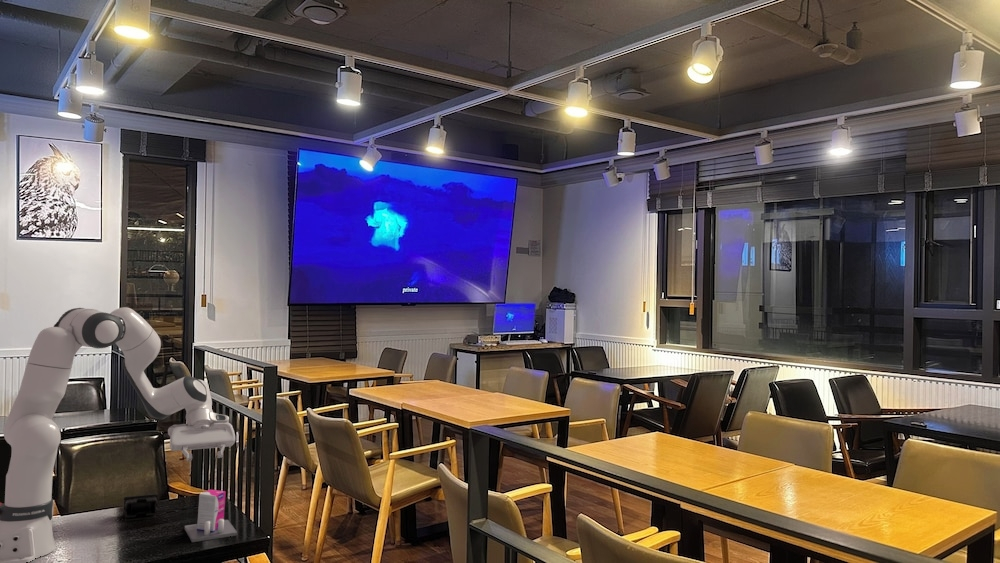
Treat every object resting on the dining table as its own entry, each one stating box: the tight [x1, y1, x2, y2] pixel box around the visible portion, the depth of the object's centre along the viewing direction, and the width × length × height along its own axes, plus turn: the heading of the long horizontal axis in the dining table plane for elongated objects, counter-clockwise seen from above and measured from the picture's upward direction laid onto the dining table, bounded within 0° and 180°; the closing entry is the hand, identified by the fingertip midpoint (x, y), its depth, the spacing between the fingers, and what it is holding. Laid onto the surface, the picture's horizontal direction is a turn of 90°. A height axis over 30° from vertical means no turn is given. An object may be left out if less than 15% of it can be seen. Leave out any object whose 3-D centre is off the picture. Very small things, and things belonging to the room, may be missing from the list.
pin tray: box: [184, 518, 238, 543], centre depth 221 cm, size 13×13×5 cm
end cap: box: [122, 493, 159, 522], centre depth 233 cm, size 10×7×7 cm
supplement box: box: [196, 489, 227, 533], centre depth 221 cm, size 6×6×12 cm
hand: (205, 458), depth 232 cm, fingers open, 8 cm apart
